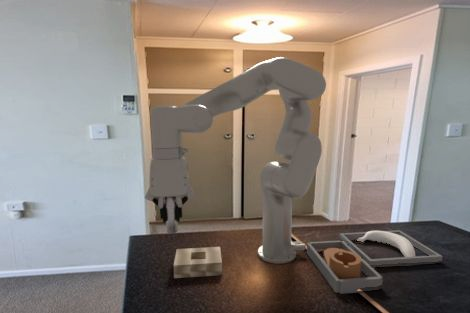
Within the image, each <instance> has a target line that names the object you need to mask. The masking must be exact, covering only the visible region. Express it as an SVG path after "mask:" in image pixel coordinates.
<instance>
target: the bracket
mask: <svg viewBox="0 0 470 313" xmlns="http://www.w3.org/2000/svg"><path fill="white" fill-rule="evenodd" d="M323 258H324V260H325V262H326V264H327V265H328V266H329V267H330V269H331V270H332V271H333V272H334V274H335V275H336V276H337V277H338V279H352V278H361V271H360V268H361V258H360V257H359V256H358V255H357V254H355V253H352V252H349V251H345V250H343V249H339V248H328V249H326V250H324V252H323Z"/></svg>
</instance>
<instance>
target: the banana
mask: <svg viewBox="0 0 470 313" xmlns="http://www.w3.org/2000/svg"><path fill="white" fill-rule="evenodd" d="M386 231H387V230H369V231H366V232H367V233H366V234H365V235H364V236H363V237H361V238H358V239H357V241H361V242H363V243H364V242H365V241H366V240H367V241H371V242H375V241H377V242H376V243H381V242H382V243H381V244H386V243H387V244H386V245H389V244H390V246H392V247H394V248H397V249H398V250H400V252H401V254H402V255H403V257H413V256H416V251H415V250H416V249H415V248H414V247H413V245H412V244H411V243H410V241H409V240H407V239H406V238H404V237H403V236H400V235H398V234H394V233H391V232H386ZM361 242H360V243H361Z"/></svg>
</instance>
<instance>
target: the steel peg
mask: <svg viewBox="0 0 470 313" xmlns="http://www.w3.org/2000/svg"><path fill="white" fill-rule="evenodd" d="M164 203H165V209H166V222H165V224H166V225H165V226H166V233H167V234H175V233H176V234H177V232H178V231H179V227H178V223H179V222H177V218H176V207H177V198H176V196H175V197H164Z"/></svg>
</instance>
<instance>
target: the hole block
mask: <svg viewBox="0 0 470 313" xmlns="http://www.w3.org/2000/svg"><path fill="white" fill-rule="evenodd" d="M221 250H222V249H221V246H209V247H207V246H206V247H191V248H176V252H175V255H174V256H175V257H174V260H173V261H174V262H173V279H181V278H184V279H185V278H195V277H196V278H197V277H198V278H199V277H211V276H214V277H215V276H223V260H222V252H221Z"/></svg>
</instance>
